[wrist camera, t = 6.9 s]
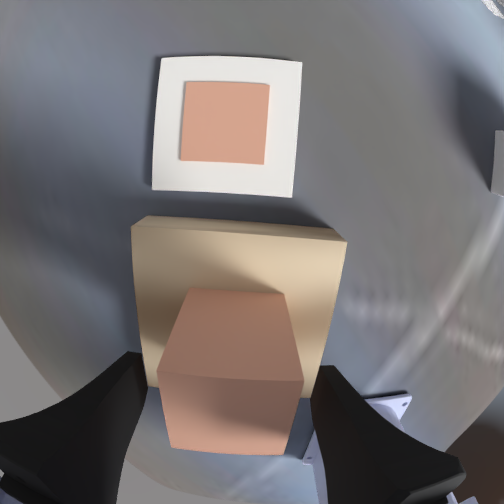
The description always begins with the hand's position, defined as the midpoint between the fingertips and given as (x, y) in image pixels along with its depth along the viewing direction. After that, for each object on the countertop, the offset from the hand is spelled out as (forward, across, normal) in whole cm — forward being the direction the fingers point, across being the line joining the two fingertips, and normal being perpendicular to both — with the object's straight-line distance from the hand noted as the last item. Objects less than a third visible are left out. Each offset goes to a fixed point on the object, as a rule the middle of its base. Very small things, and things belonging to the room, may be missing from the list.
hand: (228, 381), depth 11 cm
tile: (+6, +1, -10) cm, 12 cm away
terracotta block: (+4, 0, 0) cm, 4 cm away
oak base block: (+7, 0, 0) cm, 7 cm away
